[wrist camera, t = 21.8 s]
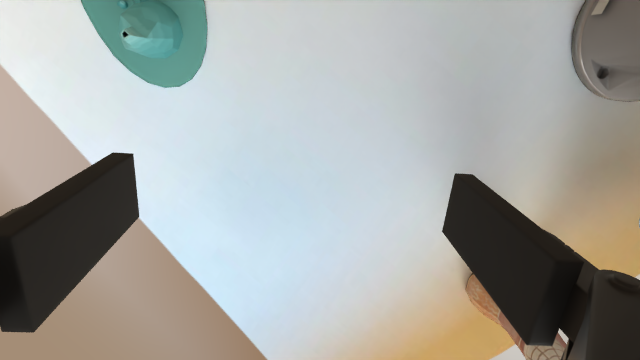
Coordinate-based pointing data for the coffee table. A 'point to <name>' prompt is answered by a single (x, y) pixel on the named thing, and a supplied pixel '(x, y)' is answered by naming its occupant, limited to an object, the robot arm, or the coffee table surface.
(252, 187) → the coffee table surface
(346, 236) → the coffee table surface
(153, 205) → the coffee table surface
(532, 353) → the vase
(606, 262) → the coffee table surface
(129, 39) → the diorama
